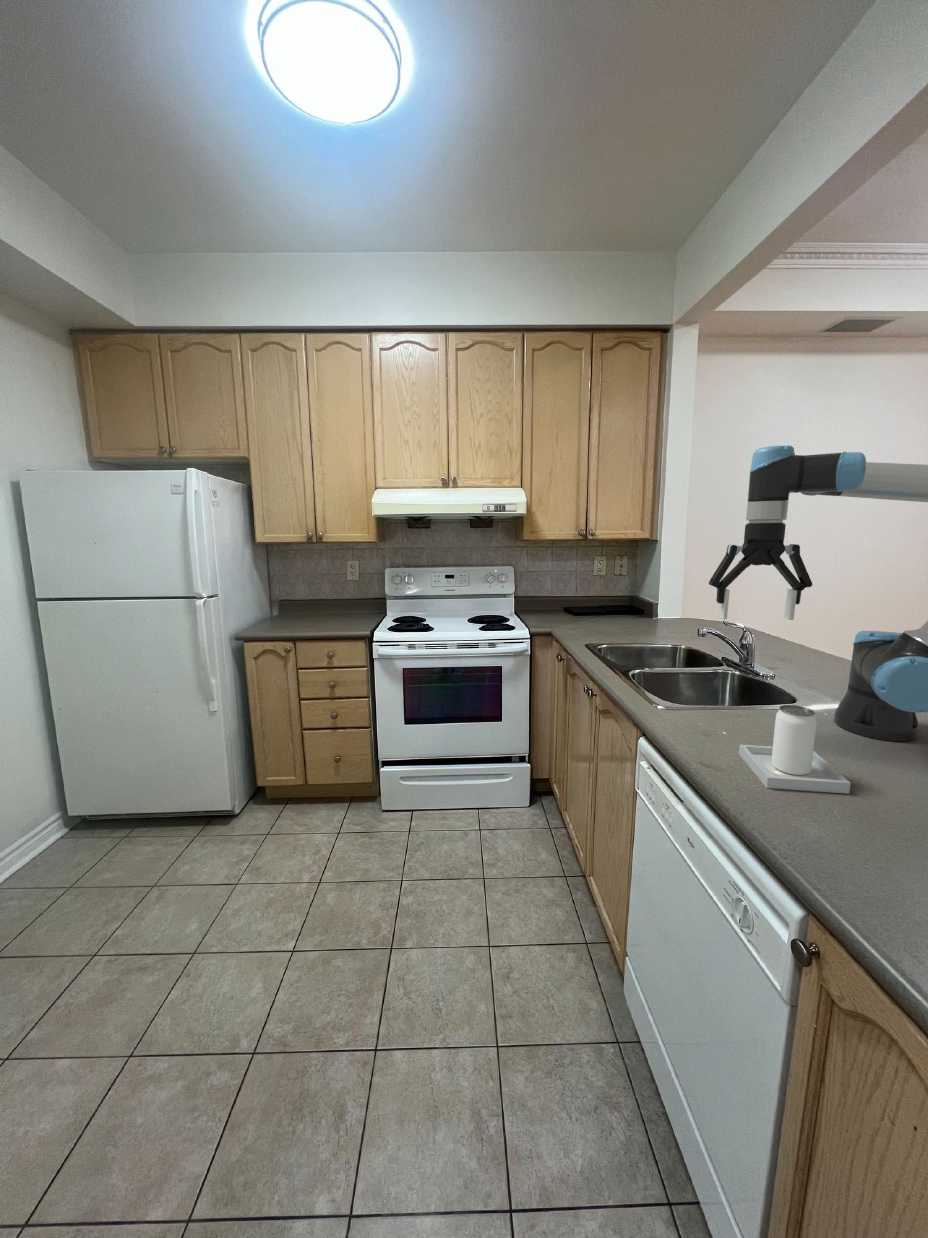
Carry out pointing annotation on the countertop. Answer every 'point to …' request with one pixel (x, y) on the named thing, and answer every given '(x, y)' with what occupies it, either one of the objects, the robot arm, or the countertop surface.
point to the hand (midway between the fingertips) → (755, 618)
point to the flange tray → (816, 780)
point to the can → (794, 740)
